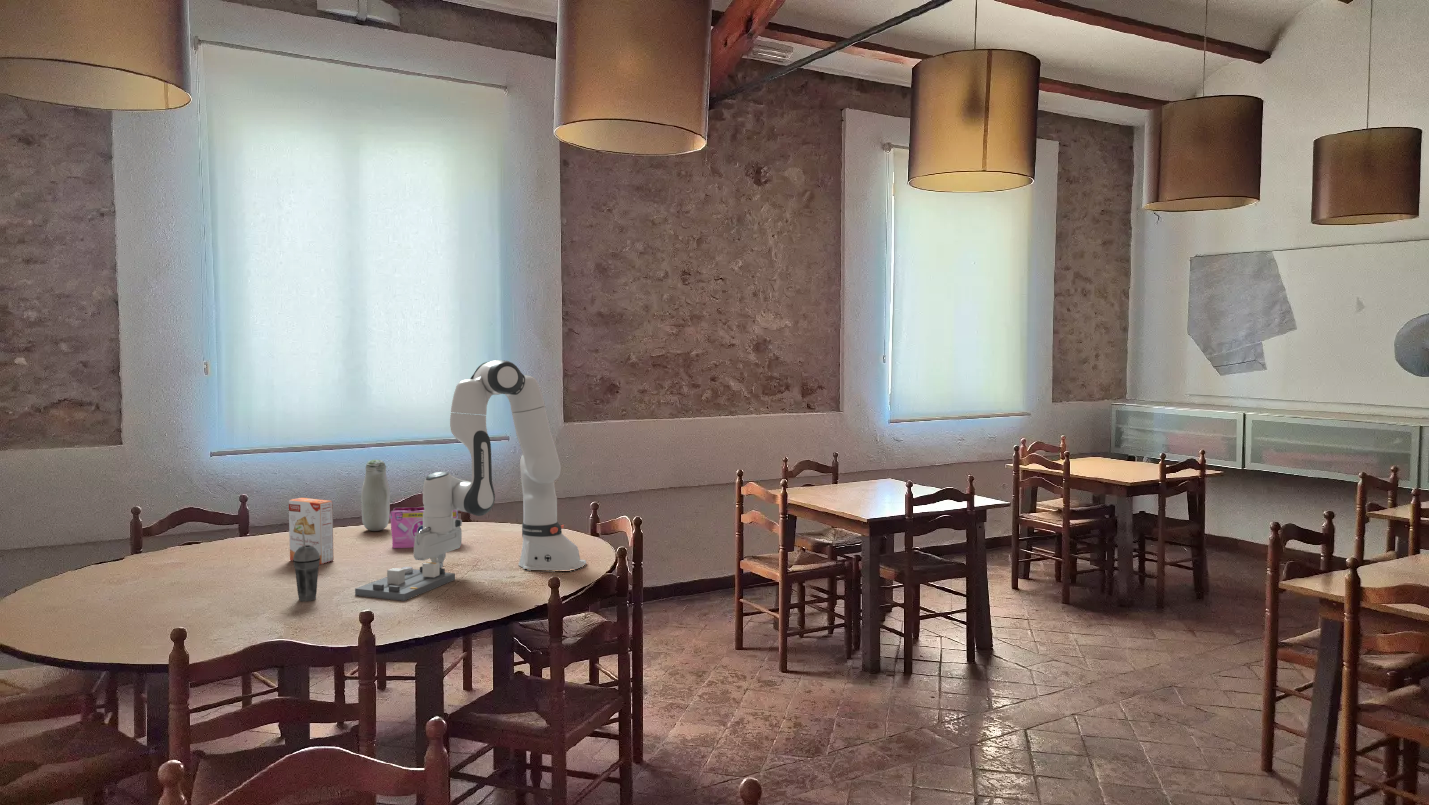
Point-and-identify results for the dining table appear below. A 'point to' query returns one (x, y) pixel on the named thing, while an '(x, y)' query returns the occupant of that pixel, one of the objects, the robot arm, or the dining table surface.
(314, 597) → the beverage cup
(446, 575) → the console
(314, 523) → the cracker box
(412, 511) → the gum box
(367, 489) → the glass bottle
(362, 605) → the dining table surface
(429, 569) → the fader
